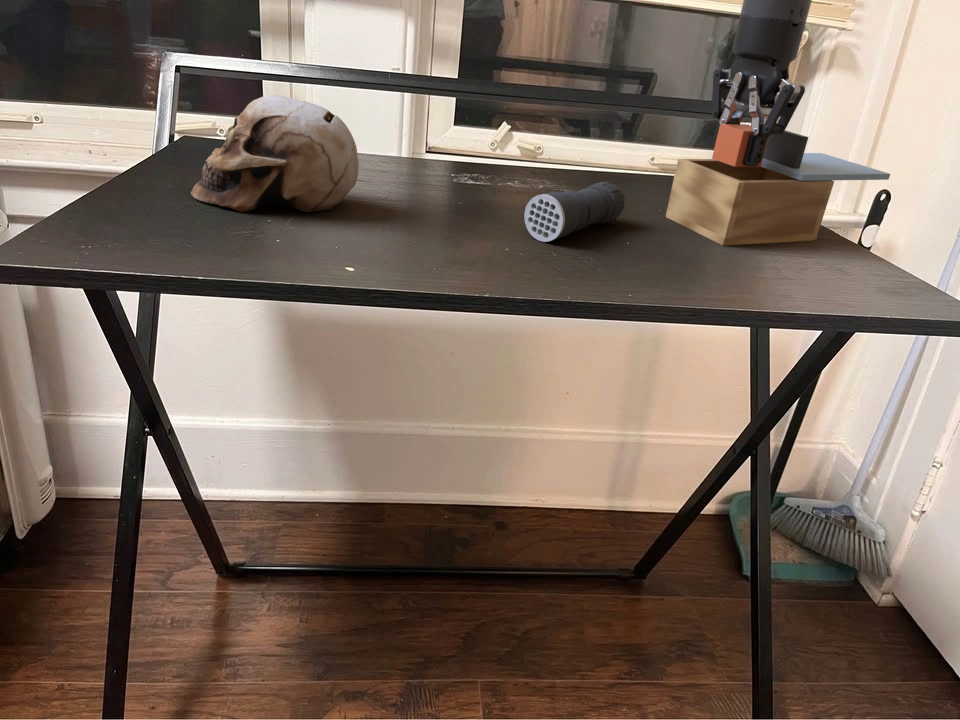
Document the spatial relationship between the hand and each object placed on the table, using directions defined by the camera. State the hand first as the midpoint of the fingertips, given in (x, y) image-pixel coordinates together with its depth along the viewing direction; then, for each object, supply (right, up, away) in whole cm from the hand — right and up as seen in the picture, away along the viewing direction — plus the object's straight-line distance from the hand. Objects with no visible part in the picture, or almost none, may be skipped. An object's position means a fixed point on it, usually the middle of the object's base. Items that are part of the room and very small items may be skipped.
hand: (737, 160), depth 96 cm
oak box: (+2, -8, +6) cm, 10 cm away
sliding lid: (+12, 0, +6) cm, 14 cm away
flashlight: (-21, -10, -3) cm, 24 cm away
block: (0, 0, 0) cm, 0 cm away
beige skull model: (-58, -6, -4) cm, 59 cm away
